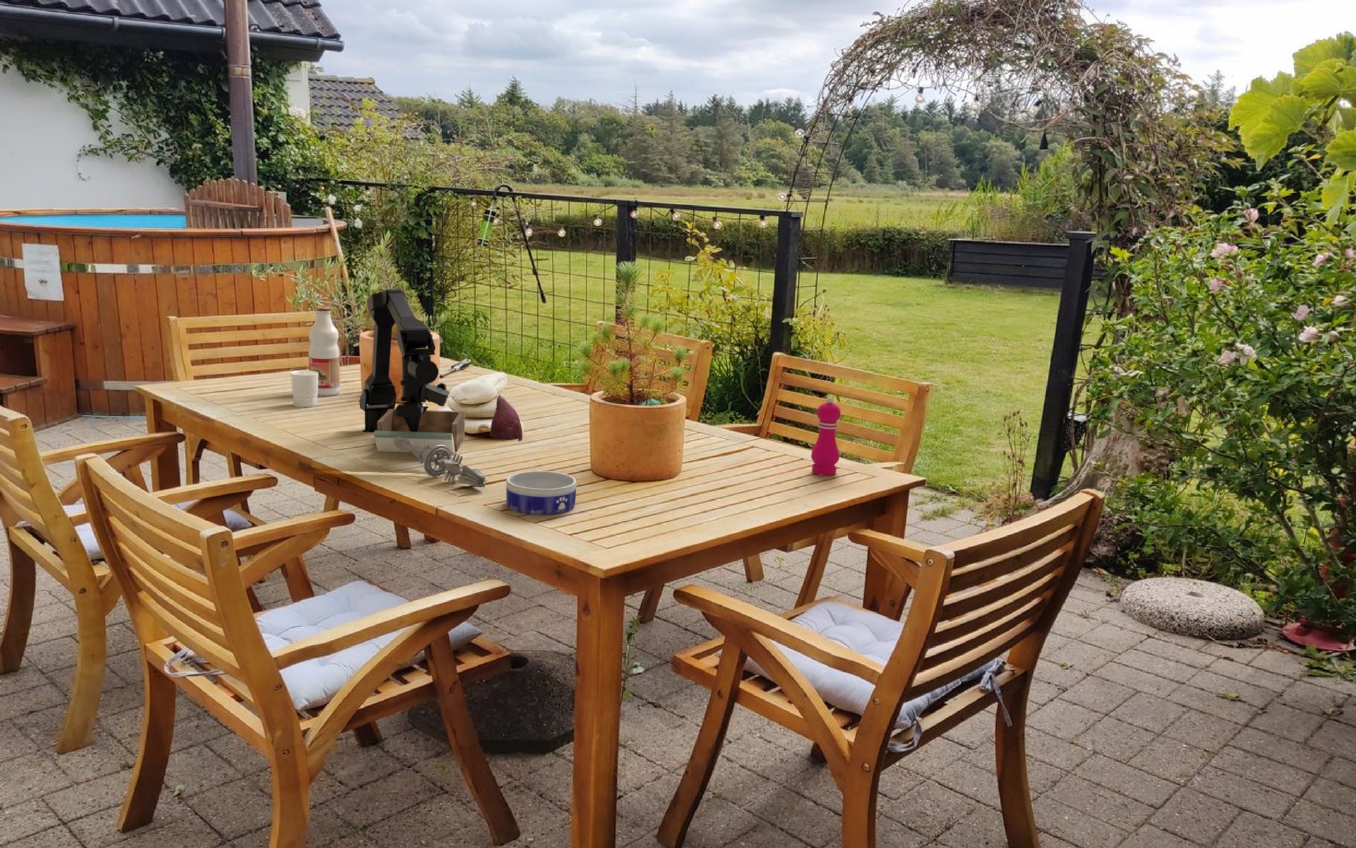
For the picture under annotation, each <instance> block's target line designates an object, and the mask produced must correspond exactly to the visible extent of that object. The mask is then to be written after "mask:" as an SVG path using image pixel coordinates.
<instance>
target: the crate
mask: <svg viewBox="0 0 1356 848" xmlns="http://www.w3.org/2000/svg"><path fill="white" fill-rule="evenodd" d="M465 414H466V412H465V411H460V410H458V411H455V410H429V409H427V410H426V412H425V413H424V414H423V415H422V416H421V420H420V424H419V429H418V432H435V433H452V434H453V442H454V449H455V453H458V450H459V449H460V447H461V445H462V444H463V442H464V440H465V433H466V432H465V431H466V430H465V428H466V427H465V424H466V415H465ZM377 431H404V432H410V430H409V428H408V425H407V424H406V422H405V420H404V418H403V417H397V416H395V409H389V410H388V411H387V412H386V413H385V414H384V415H383V417H382V418H381V419H380V420H379V421H378V422H377Z"/></svg>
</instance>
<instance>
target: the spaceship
mask: <svg viewBox="0 0 1356 848" xmlns="http://www.w3.org/2000/svg"><path fill="white" fill-rule="evenodd" d="M394 444H395V446H396V447H397V448H399V449H401V450H403V451H405V452H404V453H412V454H413V455H414V456H415V457H416V458H418V460H417V462H418V463H419V464H420V465H421V464H423V469H424V472H425V473H426V474H427V475H428V476H430V477H433V478H434V477H440V476H442V475H443V474H445V476H444V481H445V482H447V483H449V484H452V485H453V483H454V481H455V478H457V480H458V484H463V485H469V486H470V487H474V488H475V487H476V488H486V486H485V484H484V483H487V482H488V479H487V478H486V476H485V475H484V473H482V472H481V470H480V469H479V468H470V467H469V466H468V465H463V464H462V461H463V457H464V456H463V455H460V454H457V452H455V453H454V454H453V457H452V454H451V452H450V450H449V448H448V447H446V446H445V445H437V446H434V447H433V448H431V449H430V450H428V449H429V445H427V444H426V445H425V446H424V447H421V446H414V445H413V444H412V442H411V441H410V440H408V439H406V438H404V437H396V438H394ZM410 451H411V452H410ZM439 452H440V453H439ZM437 454H439V455H437ZM437 466H438V467H437Z"/></svg>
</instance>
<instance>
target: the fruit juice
mask: <svg viewBox="0 0 1356 848" xmlns="http://www.w3.org/2000/svg"><path fill="white" fill-rule="evenodd" d="M314 312H315V320H314V323H313V324H312V326H311V327H310V329H309V330H308V340H309V342H310V343H309V347H308V371H315V372H318V396H322V397H323V396H324V397H325V396H329V397H330V396H335V395H339V394H340V392H341V373H340V366H341V365H340V364H341V363H340V361H341V360H340V348H339V344H338V340H339V337H340V335H339V330H338V329H337V328H336V326H335V325H334V323H333V321H332V317H331V313H332V307H331V306H325V305H324V306H323V305H322V306H320V305H319V306H315V308H314Z"/></svg>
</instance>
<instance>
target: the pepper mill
mask: <svg viewBox="0 0 1356 848" xmlns="http://www.w3.org/2000/svg"><path fill="white" fill-rule="evenodd" d="M825 401H826V402H825V403H824V402H823V403H822V404H820V405H819V406H818V408H817V410H816V416H817V418H818V419H819V420H818V425H817V427H818V428H819V430H818V431H819V432H818V437H817V440H816V442H815V444H814V446H813V448H812V450H811V455H810V458H811V460H812V462H813V464H812V467H811V472H812V473H813V472H814V473H816V474H815V475H818V474H823V475H822V476H824V475H831V476H834V475H833V474H835V475H836V474H837V466H836V464H838V462H839V460H840V450H839V448H838V445H837V441H836V432H837V431H836V430H837V429H838V424H839V422H838V420H839V419H840V418H841V415H842V414H841V408H840V406H838V404H836V403H834V398H833V397H831V396H828V397H827V398H826V400H825ZM814 473H813V474H814Z"/></svg>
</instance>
